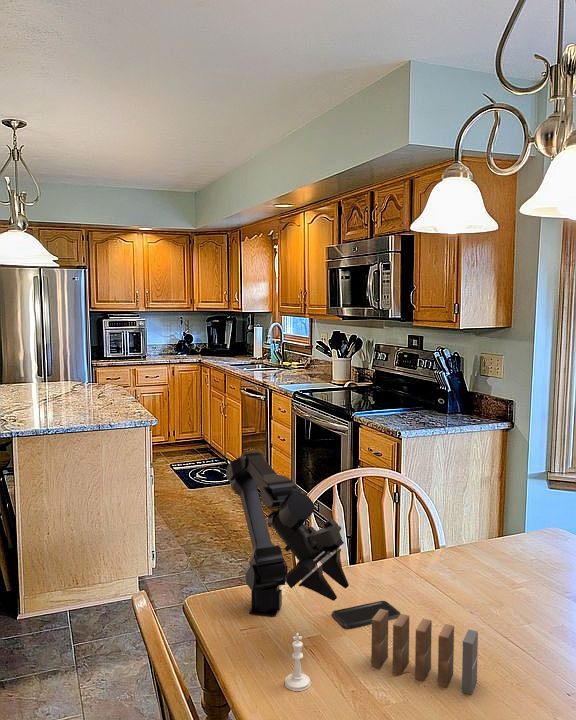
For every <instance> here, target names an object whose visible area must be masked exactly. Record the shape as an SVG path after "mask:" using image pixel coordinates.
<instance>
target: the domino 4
mask: <svg viewBox="0 0 576 720" xmlns="http://www.w3.org/2000/svg"><path fill="white" fill-rule="evenodd" d="M454 643H455V626H454V625H452V624H447V623H444V624H443V626H442V629H441V631H440V632H439V634H438V643H437V644H438V646H437V647H438V648H437V649H438V650H437V652H438V653H437V654H438V655H437V666H438V667H437V686H438V687H441V688H445V689H448V687H449V685H450V683H451V680H452V678H453V676H454V655H455V652H454V651H455V649H454V648H455V644H454Z"/></svg>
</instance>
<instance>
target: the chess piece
mask: <svg viewBox="0 0 576 720" xmlns="http://www.w3.org/2000/svg"><path fill="white" fill-rule="evenodd" d="M292 640H293V642H292V648H293V650H294V652H293V653H292V655H291V657H292V658H293V660H294V667H293V672H292V673H291V674H288V675H287V676H286V678H285V682H284V685H285V687H286V688H287V689H288V690H290V691H293V692H301V691H305V690H308V689H309V688H310V686H311V679H310V677H309V676H308V675H307V674H305V673H303V671H302V664H301V659H303V658H304V655H303V652H302V648H303V645H304V643H303V642H302V641H300V640H303V636H302V635H300V634H299V632H297V633H295V636H292Z"/></svg>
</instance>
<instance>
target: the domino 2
mask: <svg viewBox="0 0 576 720" xmlns="http://www.w3.org/2000/svg"><path fill="white" fill-rule="evenodd" d="M409 663H410V615H408V614H404V613H400V616H399V617H398V618H397V619H395V621H394V622H393V624H392V674H395V675H399V676H402V675H403V674H404V672H405V671H406V668H407V667H408V665H409Z"/></svg>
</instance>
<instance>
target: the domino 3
mask: <svg viewBox="0 0 576 720" xmlns="http://www.w3.org/2000/svg"><path fill="white" fill-rule="evenodd" d="M432 621H433V620H432V619H431V620H430V619H425V618H422V619H421V620H420V622H419V624H418V625H417V627H416V629H415V653H414V654H415V655H414V656H415V657H414V658H415V659H414V661H415V662H414V667H415V668H414V680H416V681H420V682H425V681H426V679H427V677H428V675H429V673H430V671H431V669H432V627H433V626H432V625H433V623H432Z"/></svg>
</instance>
